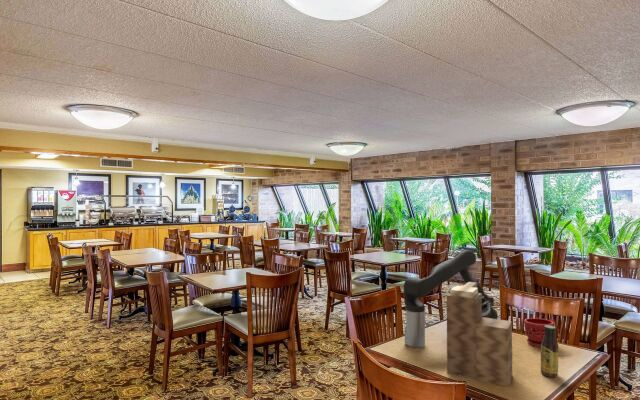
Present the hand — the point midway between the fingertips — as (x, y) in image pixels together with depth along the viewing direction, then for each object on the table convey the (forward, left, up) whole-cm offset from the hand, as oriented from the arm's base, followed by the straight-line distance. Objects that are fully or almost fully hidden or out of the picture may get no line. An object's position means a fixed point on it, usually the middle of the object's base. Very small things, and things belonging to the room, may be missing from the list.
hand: (475, 294), depth 181 cm
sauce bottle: (+30, -7, -28) cm, 42 cm away
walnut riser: (+6, -22, -28) cm, 36 cm away
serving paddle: (0, -17, +4) cm, 18 cm away
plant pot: (+24, +31, -28) cm, 48 cm away
